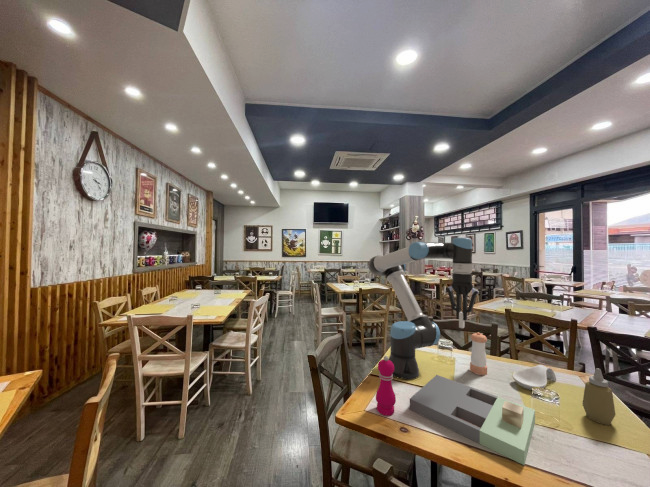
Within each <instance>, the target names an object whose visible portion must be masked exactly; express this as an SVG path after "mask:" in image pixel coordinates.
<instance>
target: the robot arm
mask: <svg viewBox="0 0 650 487" xmlns="http://www.w3.org/2000/svg"><path fill="white" fill-rule="evenodd" d="M473 248H474V247H473V239H472V238H470V237H454V238H452V242H438V241H437V242H436V241H435V242H434V241H433V242H432V241H431V242H429V241H414V242H412V243H411V244H410V245H409V246H407V247H404V248H401V249H398V250H396V251H392V252H390V253H386V254H384V255H382V254H380V255H379V254H377V255H376V256H373V257H371V258H370V259H369V261H368V270H369V272H370V273H372V274H373V275H375V276H382V277H383V276H385V279H386V281H387V282H389V283H390V284H391V286H392V289H393V291H394V293H395V295H396V297H397V299H398V302H399V303H400V306H401V309H402V311H403V312H404V315H405V317H406V319H407V320H404V321H403V320H401V321H399V320H398V321H395V322H394V323H392V324H391V327H390V334H389V335H390V350H389V351H390V354H389V356H388V358H389V360H390V361H391V362H392V363H393V364H394V372H393V373H392V374H393V377H394V376H395V377H394V378H397V377H398V378H397V379H400V378H402V379H401V380H415V379H417V378H419V375H420V368H419V365H418V362H417V358H416V350H417V349H423V348H425V347H426V348H427V347H428V348H429V347H432V346H435V345H437V343H438V342H440V338H441V331H440V328H439V326H438V324H437V323H435V322H434V321H431V320H430V319H429V317H428V315H426V314H424V313H423V310H422V309H421V307H420V305H419V303H418V301H417V299H416V297H415V295H414V293H413V291H412V289H411V288H410V285H409V283H408V282H407V279H406V278H405V275H406V266H407V264H409V263H413V262H417V261H421V260H426V259H438V260H440V259H444V260H447V259H449V260H452V272H453V273H452V281H451V282H452V283H451V285H450V286H448V287H446V288H445V290H446V291H447V293H448V298H449V302H450V306H451V309H452V310H453V311H455V312H456V320H458V328H460V329H464V328H465V324H466V323H465V322H466V321H467V320H468V313H471V312H472V311H473V309H474V306H475V301H476V299H477V296H478V295H479V294H480V290H477V289H475V288H474V285H473V274H472V273H473ZM453 290H454V291H453ZM454 293H455V295H454ZM470 293H471V297H470V300H469V298H468V297H469V294H470ZM455 296H456V299H455ZM468 300H469V303H468ZM416 377H417V378H416ZM414 378H415V379H414Z"/></svg>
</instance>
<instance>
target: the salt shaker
mask: <svg viewBox="0 0 650 487" xmlns="http://www.w3.org/2000/svg"><path fill="white" fill-rule="evenodd" d="M470 339H471V342H472V343H471V354H470V362H469V369H470V370H469V371H471V373H473V374H476V375H479V376H486V375H488V365H487V354H486V343H487V342H488V338H487V336H486V335H484V334H482V333H480V332H479V331H478V332H477V333H476V332H475V333H472V334H470Z"/></svg>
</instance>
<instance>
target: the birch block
mask: <svg viewBox="0 0 650 487" xmlns="http://www.w3.org/2000/svg"><path fill="white" fill-rule="evenodd" d="M523 417H524V407H521V406H518V405H515V404H513V403H510V402H507V401H505V402H504V404H503V406H502V421H504V422H507V423H509V424H512V425H514V426H516V427H519V428H521V427H522V424H523Z"/></svg>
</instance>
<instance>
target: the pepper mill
mask: <svg viewBox="0 0 650 487" xmlns="http://www.w3.org/2000/svg"><path fill="white" fill-rule="evenodd" d="M377 370H378V372H379V373H378V374H379V375H378V377H379V380H380V381H379V386H378V388H377V391H376V394H375V400H376V410H377V412H378V413H379V414H381V415H383V416H393V415H394V413H395V404H396V400H397V399H396V394H395V392H394V389H393V384H392V383H393V382H392V381H393V379H394V376H393V374H392V373H393V372H394V364H393V363H392V362H391V361H390V360H389V356H387V355H385V356H383V359H381V360H379V362H377Z"/></svg>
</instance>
